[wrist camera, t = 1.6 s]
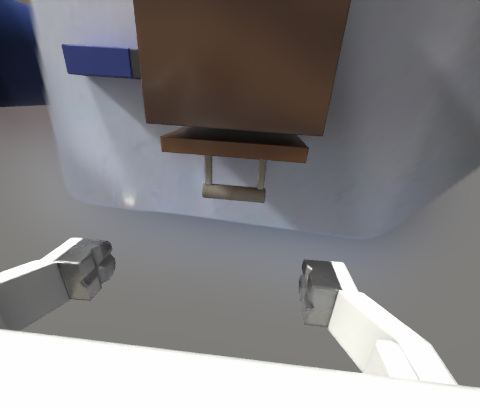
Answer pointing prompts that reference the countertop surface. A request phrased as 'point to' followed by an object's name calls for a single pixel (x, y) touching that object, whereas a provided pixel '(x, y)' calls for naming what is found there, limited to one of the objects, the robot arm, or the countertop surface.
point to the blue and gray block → (102, 61)
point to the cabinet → (240, 62)
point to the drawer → (235, 154)
